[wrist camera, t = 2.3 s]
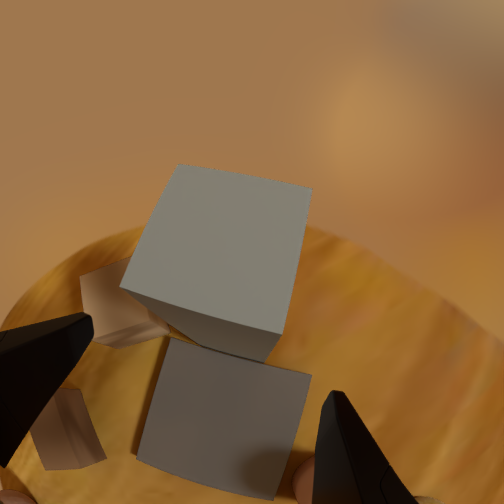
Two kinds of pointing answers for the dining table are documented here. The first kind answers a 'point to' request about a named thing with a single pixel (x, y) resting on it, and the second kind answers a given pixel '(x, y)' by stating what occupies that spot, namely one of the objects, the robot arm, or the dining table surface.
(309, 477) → the pink rounded pebble
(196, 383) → the coaster
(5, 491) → the mauve oval ball
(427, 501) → the bread roll
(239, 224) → the tall block
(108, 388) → the dining table surface
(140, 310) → the beech cube
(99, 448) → the walnut brick
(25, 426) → the robot arm
